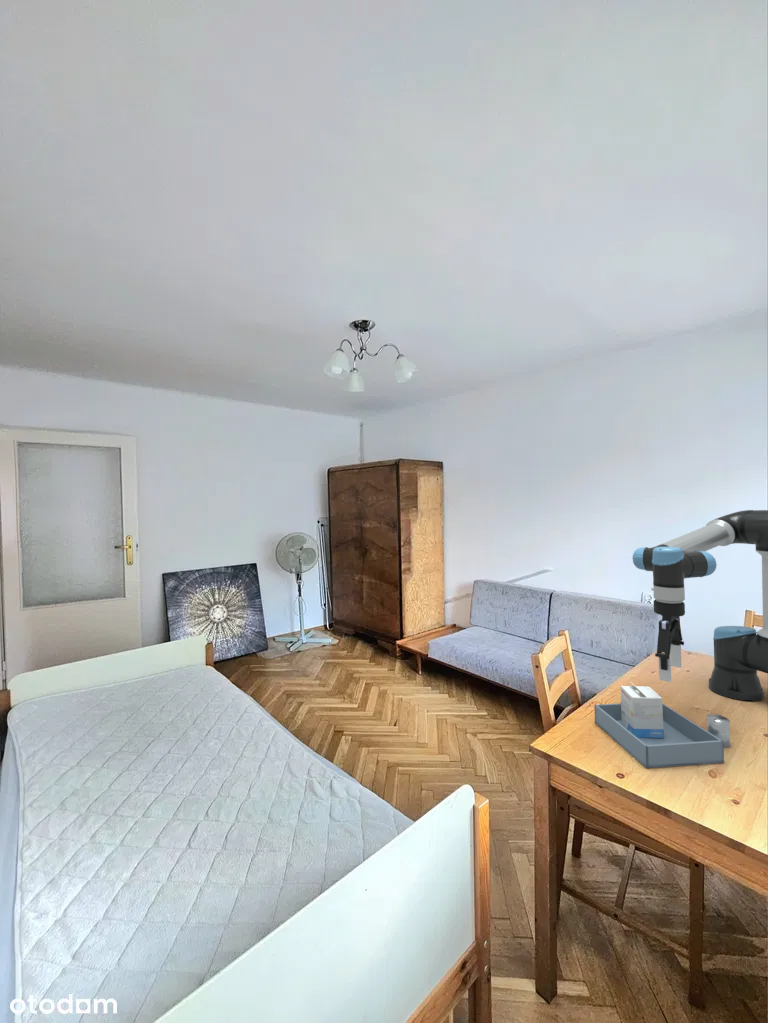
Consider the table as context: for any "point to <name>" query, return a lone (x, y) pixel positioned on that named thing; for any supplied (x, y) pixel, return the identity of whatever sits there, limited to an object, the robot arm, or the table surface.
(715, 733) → the tin
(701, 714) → the table surface
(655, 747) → the tote
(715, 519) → the robot arm
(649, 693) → the ink box
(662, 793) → the table surface
